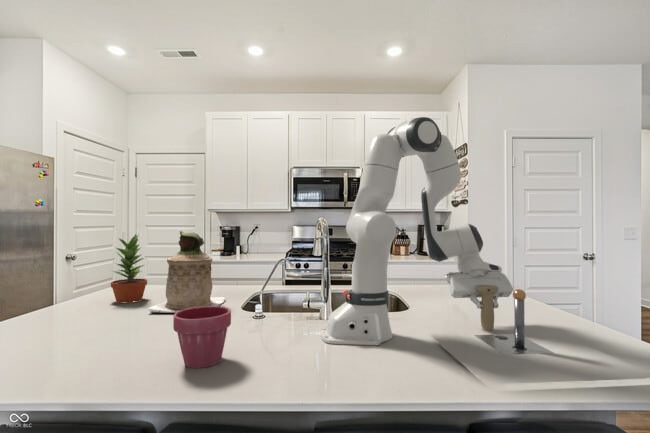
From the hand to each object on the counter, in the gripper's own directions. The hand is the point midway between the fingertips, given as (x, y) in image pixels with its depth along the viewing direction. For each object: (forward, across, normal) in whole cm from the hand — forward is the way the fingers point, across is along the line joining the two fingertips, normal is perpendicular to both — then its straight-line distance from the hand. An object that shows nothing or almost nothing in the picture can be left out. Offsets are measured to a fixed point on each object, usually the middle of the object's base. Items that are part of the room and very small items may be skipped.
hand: (488, 307), depth 117 cm
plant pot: (+17, -85, -5) cm, 87 cm away
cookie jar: (-26, -106, +38) cm, 115 cm away
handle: (+6, 0, +6) cm, 9 cm away
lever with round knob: (+17, 0, -6) cm, 18 cm away
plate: (+15, 0, -3) cm, 15 cm away
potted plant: (-35, -136, +48) cm, 148 cm away
